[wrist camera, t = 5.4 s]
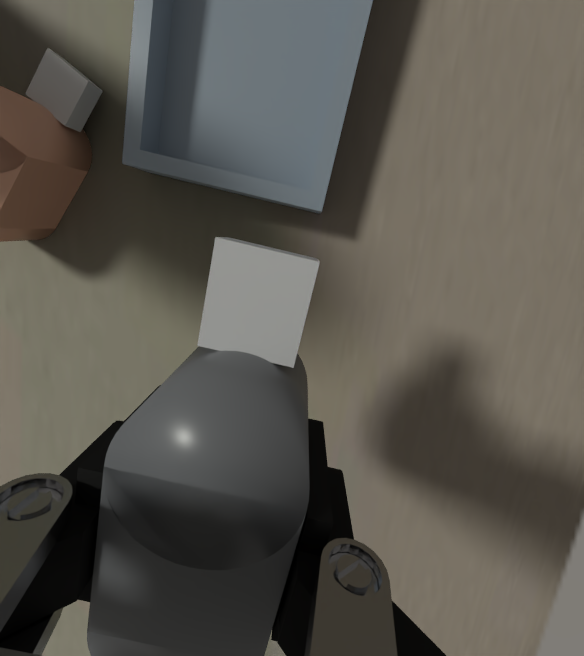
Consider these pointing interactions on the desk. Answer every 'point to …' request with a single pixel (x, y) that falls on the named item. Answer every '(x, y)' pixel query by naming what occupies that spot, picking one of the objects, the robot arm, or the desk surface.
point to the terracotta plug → (43, 148)
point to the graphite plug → (211, 475)
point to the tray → (243, 93)
